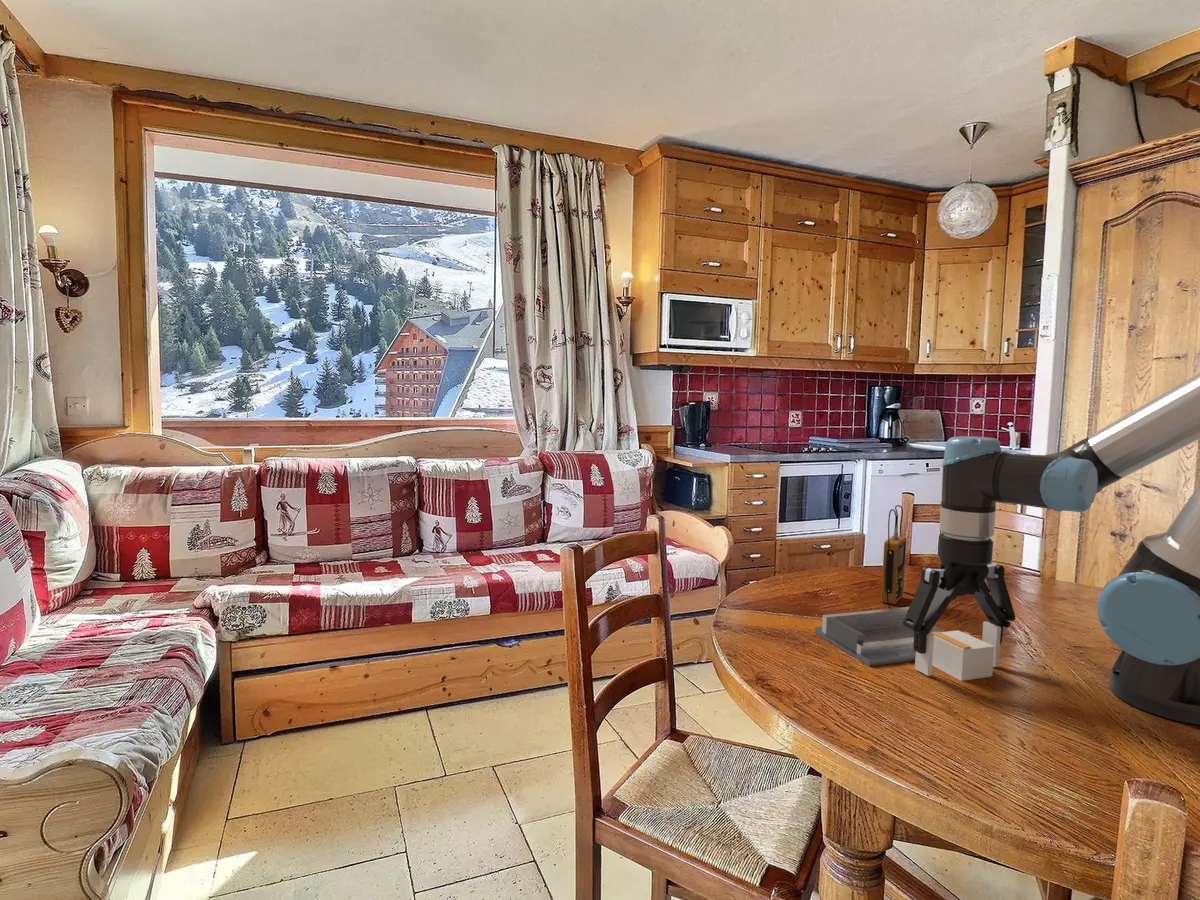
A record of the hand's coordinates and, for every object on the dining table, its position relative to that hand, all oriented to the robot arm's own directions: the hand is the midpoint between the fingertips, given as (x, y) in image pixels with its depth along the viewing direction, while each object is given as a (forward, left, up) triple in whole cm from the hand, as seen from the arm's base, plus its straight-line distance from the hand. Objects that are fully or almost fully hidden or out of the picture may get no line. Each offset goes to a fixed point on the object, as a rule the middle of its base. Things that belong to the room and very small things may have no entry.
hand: (956, 667), depth 107 cm
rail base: (+12, +2, 0) cm, 12 cm away
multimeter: (+29, -16, 0) cm, 33 cm away
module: (0, 0, 0) cm, 1 cm away
